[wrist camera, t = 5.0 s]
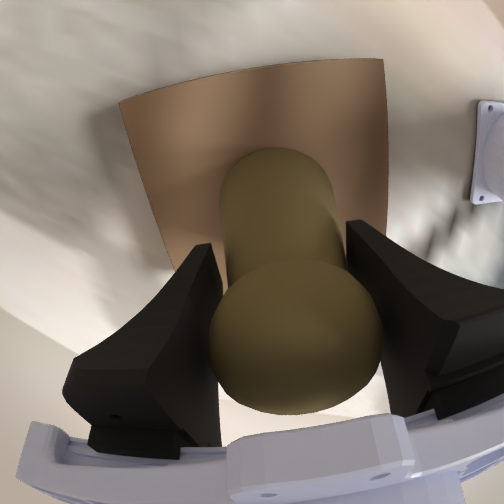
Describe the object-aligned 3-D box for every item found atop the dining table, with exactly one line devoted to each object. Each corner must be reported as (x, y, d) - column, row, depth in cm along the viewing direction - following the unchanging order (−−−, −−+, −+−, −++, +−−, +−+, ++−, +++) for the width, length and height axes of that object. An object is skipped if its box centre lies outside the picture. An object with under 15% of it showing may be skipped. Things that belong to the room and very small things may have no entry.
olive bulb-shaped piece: (235, 133, 15) (206, 291, 6) (350, 167, 16) (455, 332, 7) (209, 236, 18) (176, 422, 9) (309, 259, 19) (345, 436, 10)
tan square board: (362, 57, 15) (383, 59, 12) (369, 244, 22) (382, 270, 20) (136, 94, 16) (118, 102, 13) (192, 272, 23) (186, 300, 21)
